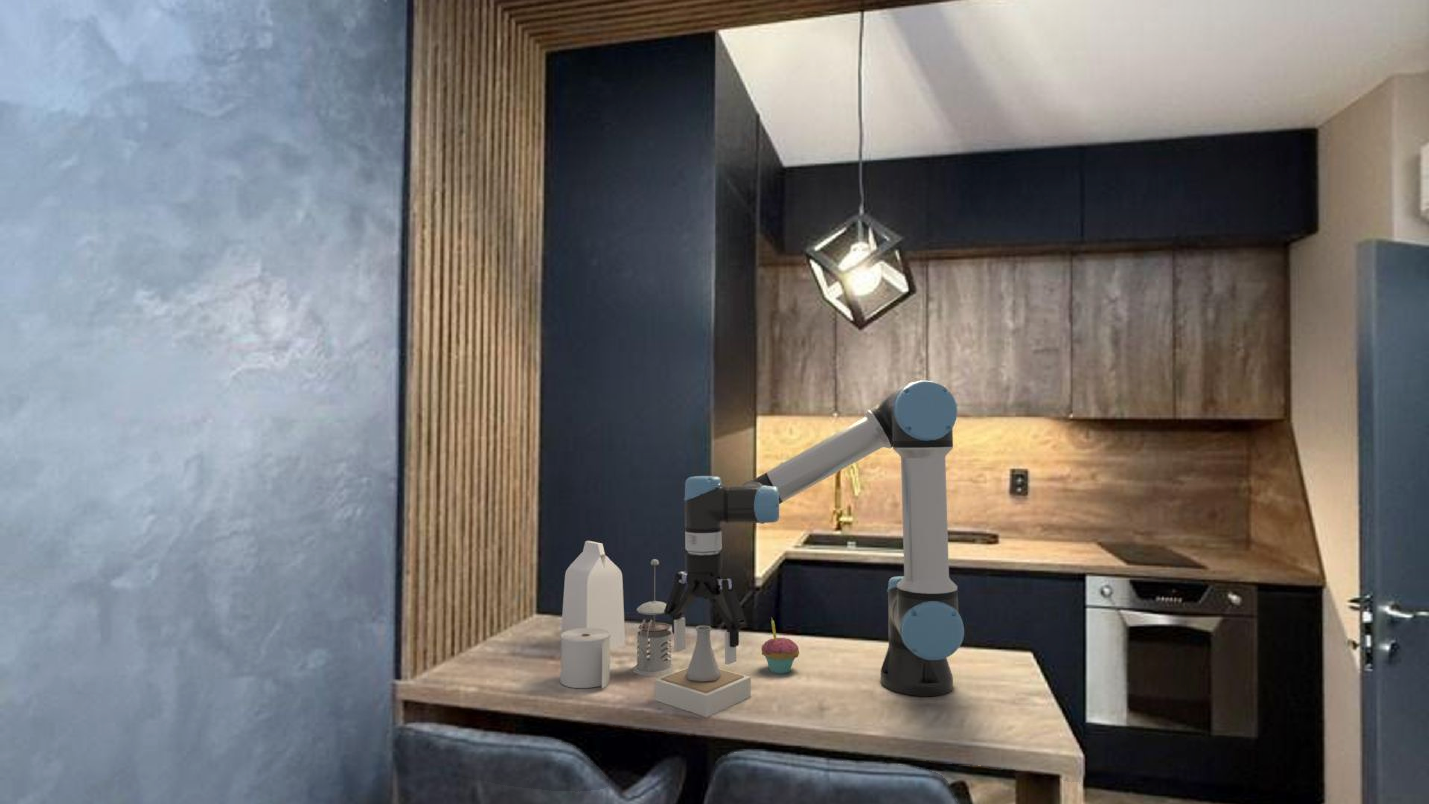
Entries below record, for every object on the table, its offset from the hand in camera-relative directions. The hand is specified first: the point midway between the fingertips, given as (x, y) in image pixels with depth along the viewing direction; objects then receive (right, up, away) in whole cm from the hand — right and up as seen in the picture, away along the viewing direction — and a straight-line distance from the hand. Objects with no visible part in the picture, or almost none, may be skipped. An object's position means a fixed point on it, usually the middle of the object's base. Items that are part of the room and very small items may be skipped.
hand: (704, 656), depth 150 cm
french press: (-12, -9, +17) cm, 23 cm away
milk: (-29, -10, +36) cm, 47 cm away
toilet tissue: (-26, -9, +10) cm, 29 cm away
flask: (0, -4, 0) cm, 4 cm away
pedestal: (0, -8, 0) cm, 8 cm away
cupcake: (+17, -9, +18) cm, 26 cm away
